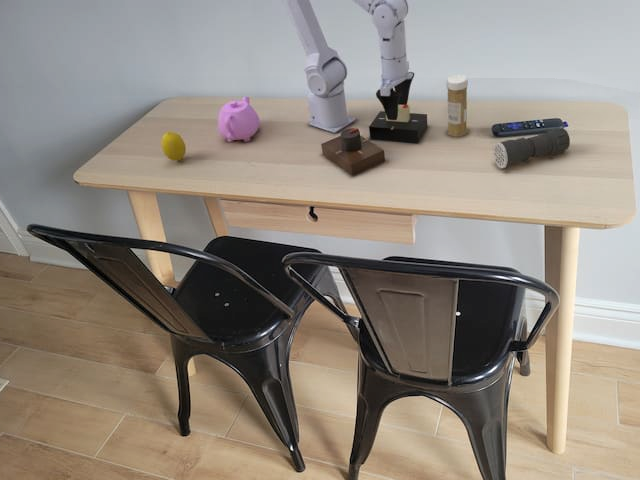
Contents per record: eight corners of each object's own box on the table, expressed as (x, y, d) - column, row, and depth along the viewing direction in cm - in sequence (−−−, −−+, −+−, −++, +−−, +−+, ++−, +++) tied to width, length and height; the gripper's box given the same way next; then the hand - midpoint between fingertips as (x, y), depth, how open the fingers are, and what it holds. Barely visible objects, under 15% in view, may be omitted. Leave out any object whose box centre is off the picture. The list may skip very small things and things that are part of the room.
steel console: (369, 141, 139) (367, 127, 136) (382, 122, 145) (381, 108, 143) (416, 145, 134) (416, 131, 132) (428, 125, 141) (428, 111, 138)
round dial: (349, 153, 129) (347, 138, 127) (338, 146, 132) (336, 131, 130) (365, 146, 131) (363, 131, 128) (354, 139, 134) (352, 124, 131)
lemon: (193, 155, 144) (183, 126, 139) (182, 167, 141) (172, 138, 135) (175, 154, 146) (164, 126, 141) (163, 166, 142) (152, 137, 137)
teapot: (214, 148, 146) (203, 114, 140) (235, 120, 157) (226, 87, 151) (251, 148, 143) (242, 113, 137) (271, 119, 154) (263, 86, 148)
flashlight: (556, 143, 127) (559, 121, 123) (570, 155, 123) (574, 132, 119) (492, 161, 125) (493, 138, 121) (504, 172, 121) (506, 150, 117)
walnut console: (322, 155, 136) (320, 143, 134) (354, 141, 139) (352, 129, 137) (352, 176, 128) (350, 164, 125) (385, 161, 131) (384, 149, 128)
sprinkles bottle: (471, 132, 135) (472, 77, 127) (456, 139, 134) (456, 84, 125) (457, 126, 139) (457, 72, 130) (443, 133, 137) (442, 78, 128)
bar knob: (386, 120, 138) (384, 106, 135) (388, 117, 139) (387, 103, 136) (408, 122, 136) (407, 107, 133) (410, 119, 137) (409, 104, 134)
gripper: (400, 68, 121) (404, 127, 130) (420, 42, 130) (422, 98, 139) (369, 67, 123) (375, 125, 132) (391, 42, 133) (395, 97, 142)
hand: (397, 111), depth 136 cm, fingers open, 7 cm apart
